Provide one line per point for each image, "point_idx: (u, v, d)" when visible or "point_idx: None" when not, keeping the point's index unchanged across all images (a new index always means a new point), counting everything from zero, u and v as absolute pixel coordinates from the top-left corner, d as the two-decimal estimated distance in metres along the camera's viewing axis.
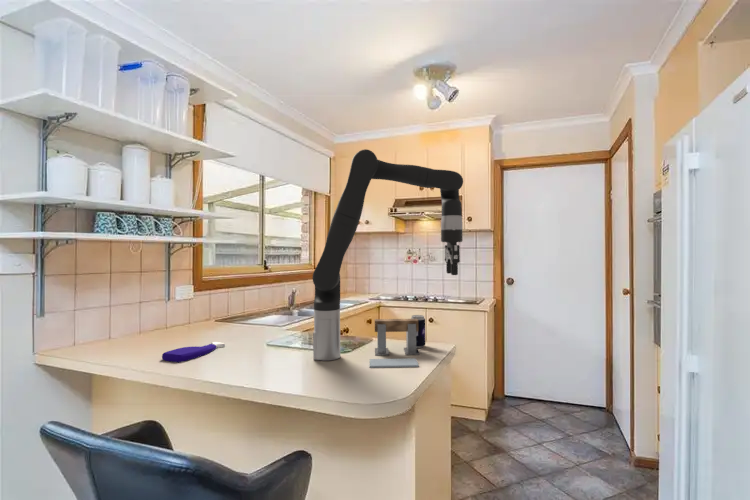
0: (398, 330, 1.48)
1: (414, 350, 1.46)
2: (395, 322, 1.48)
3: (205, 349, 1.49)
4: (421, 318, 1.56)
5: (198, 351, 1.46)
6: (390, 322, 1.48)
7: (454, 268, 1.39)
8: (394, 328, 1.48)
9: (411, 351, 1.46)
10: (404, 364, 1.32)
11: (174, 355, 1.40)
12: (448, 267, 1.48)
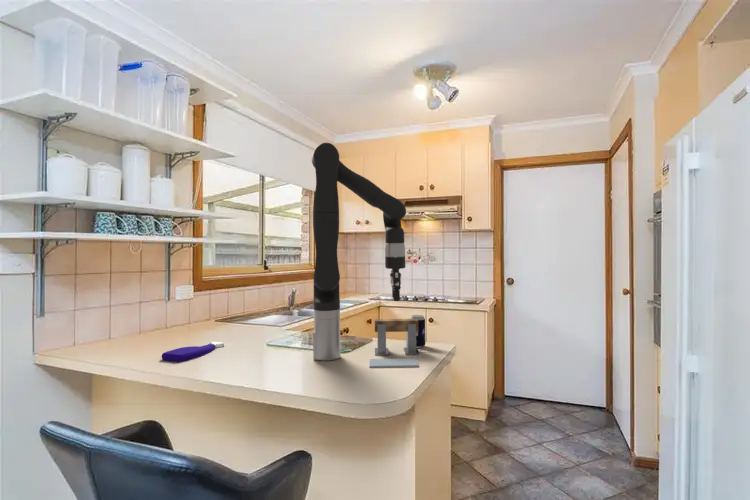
0: (398, 330, 1.48)
1: (414, 350, 1.46)
2: (395, 322, 1.48)
3: (205, 349, 1.50)
4: (421, 318, 1.56)
5: (198, 351, 1.46)
6: (390, 322, 1.48)
7: (396, 294, 1.44)
8: (394, 328, 1.48)
9: (411, 351, 1.46)
10: (404, 364, 1.32)
11: (174, 355, 1.40)
12: None
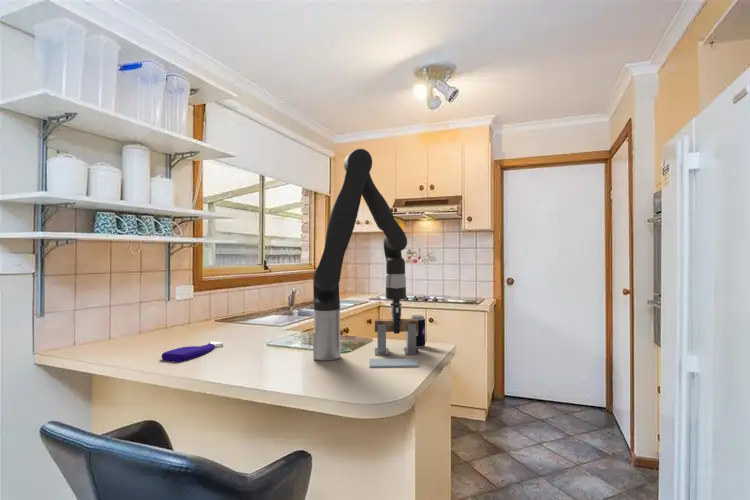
0: None
1: (414, 350, 1.46)
2: None
3: (204, 349, 1.50)
4: (421, 318, 1.56)
5: (198, 351, 1.46)
6: (390, 322, 1.48)
7: (396, 327, 1.46)
8: None
9: (411, 351, 1.46)
10: (404, 364, 1.32)
11: (174, 355, 1.40)
12: None
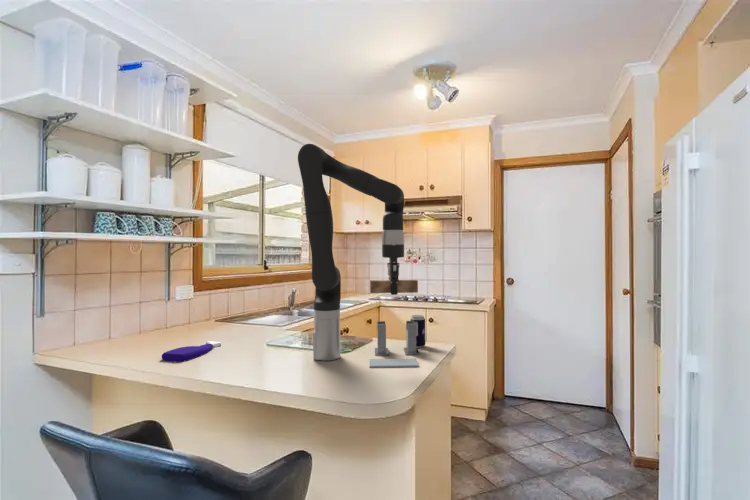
0: None
1: (414, 350, 1.46)
2: None
3: (204, 348, 1.50)
4: (421, 318, 1.56)
5: (198, 350, 1.47)
6: (387, 282, 1.36)
7: (393, 287, 1.34)
8: None
9: (411, 351, 1.46)
10: (404, 364, 1.32)
11: (175, 355, 1.40)
12: None
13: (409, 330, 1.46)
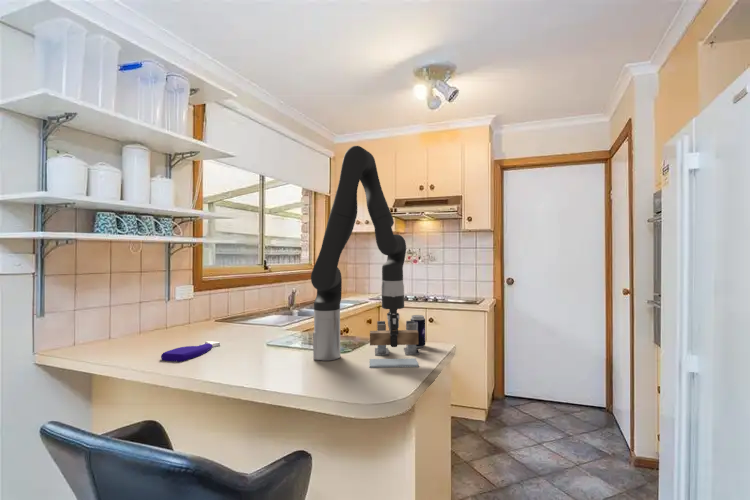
0: None
1: (414, 350, 1.46)
2: None
3: (203, 348, 1.51)
4: (421, 318, 1.56)
5: (198, 350, 1.47)
6: (387, 334, 1.33)
7: (393, 340, 1.31)
8: None
9: (411, 351, 1.46)
10: (404, 364, 1.32)
11: (175, 355, 1.41)
12: None
13: None
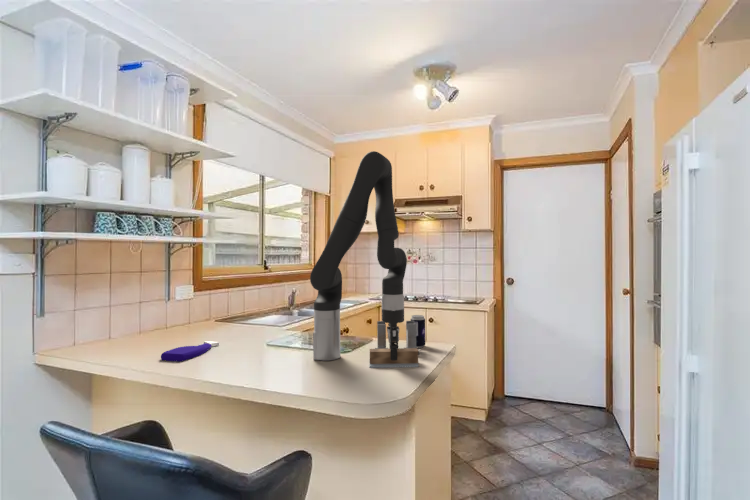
0: (396, 362, 1.33)
1: None
2: None
3: (203, 348, 1.51)
4: (421, 318, 1.56)
5: (197, 350, 1.47)
6: (387, 353, 1.33)
7: (393, 353, 1.30)
8: None
9: None
10: (404, 364, 1.32)
11: (175, 354, 1.41)
12: None
13: (409, 330, 1.46)
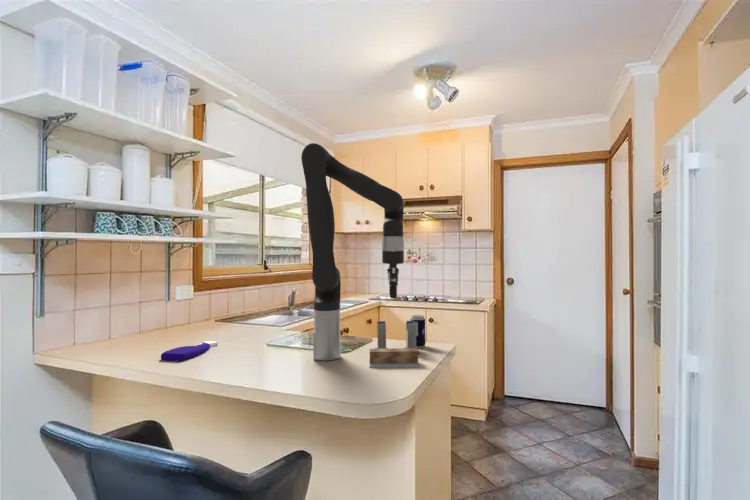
0: (396, 362, 1.33)
1: None
2: (392, 353, 1.33)
3: (203, 348, 1.51)
4: (421, 318, 1.56)
5: (197, 350, 1.48)
6: (387, 353, 1.33)
7: (392, 291, 1.35)
8: (392, 360, 1.33)
9: None
10: (404, 364, 1.32)
11: (175, 354, 1.41)
12: None
13: (409, 330, 1.46)
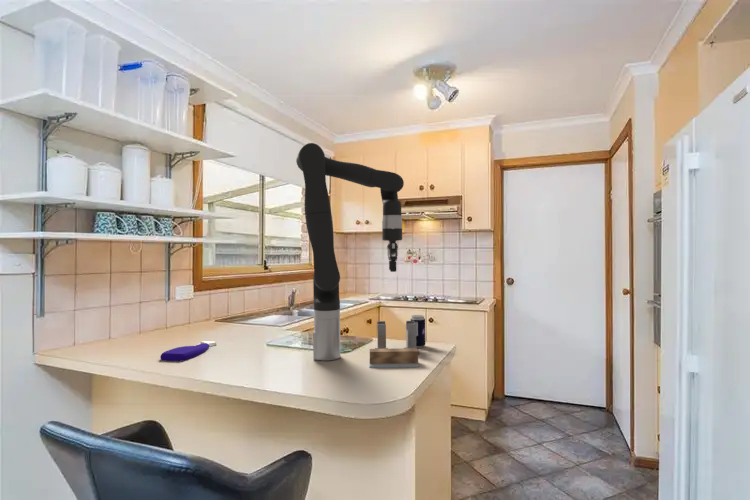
0: (396, 362, 1.33)
1: None
2: (392, 353, 1.33)
3: (202, 348, 1.52)
4: (421, 318, 1.56)
5: (197, 350, 1.48)
6: (387, 353, 1.33)
7: (392, 265, 1.46)
8: (392, 360, 1.33)
9: None
10: (404, 364, 1.32)
11: (175, 354, 1.41)
12: None
13: (409, 330, 1.46)
